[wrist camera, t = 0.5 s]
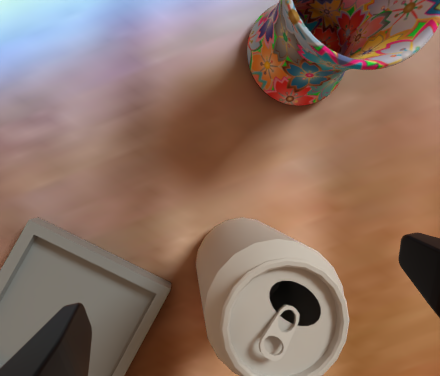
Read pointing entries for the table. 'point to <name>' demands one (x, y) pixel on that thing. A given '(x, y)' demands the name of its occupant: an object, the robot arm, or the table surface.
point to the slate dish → (76, 295)
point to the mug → (333, 42)
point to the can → (269, 301)
